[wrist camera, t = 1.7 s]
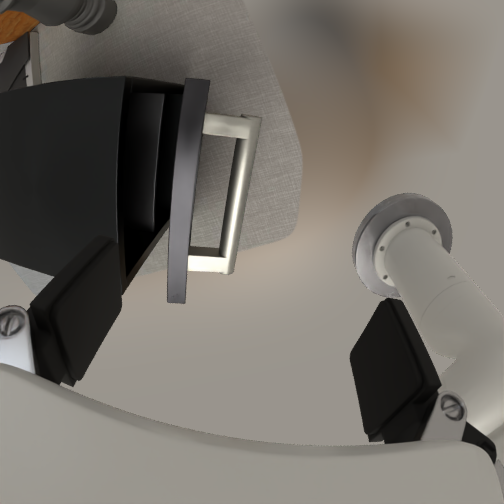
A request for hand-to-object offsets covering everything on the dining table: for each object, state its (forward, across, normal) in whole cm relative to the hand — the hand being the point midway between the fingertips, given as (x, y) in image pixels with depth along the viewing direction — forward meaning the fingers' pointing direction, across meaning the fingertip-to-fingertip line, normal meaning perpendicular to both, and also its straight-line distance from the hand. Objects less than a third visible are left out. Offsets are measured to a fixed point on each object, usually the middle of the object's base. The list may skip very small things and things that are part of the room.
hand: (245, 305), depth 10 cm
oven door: (+29, +7, +2) cm, 30 cm away
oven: (+28, +19, +2) cm, 34 cm away
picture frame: (+28, +47, -6) cm, 55 cm away
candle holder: (+28, +27, -18) cm, 43 cm away
